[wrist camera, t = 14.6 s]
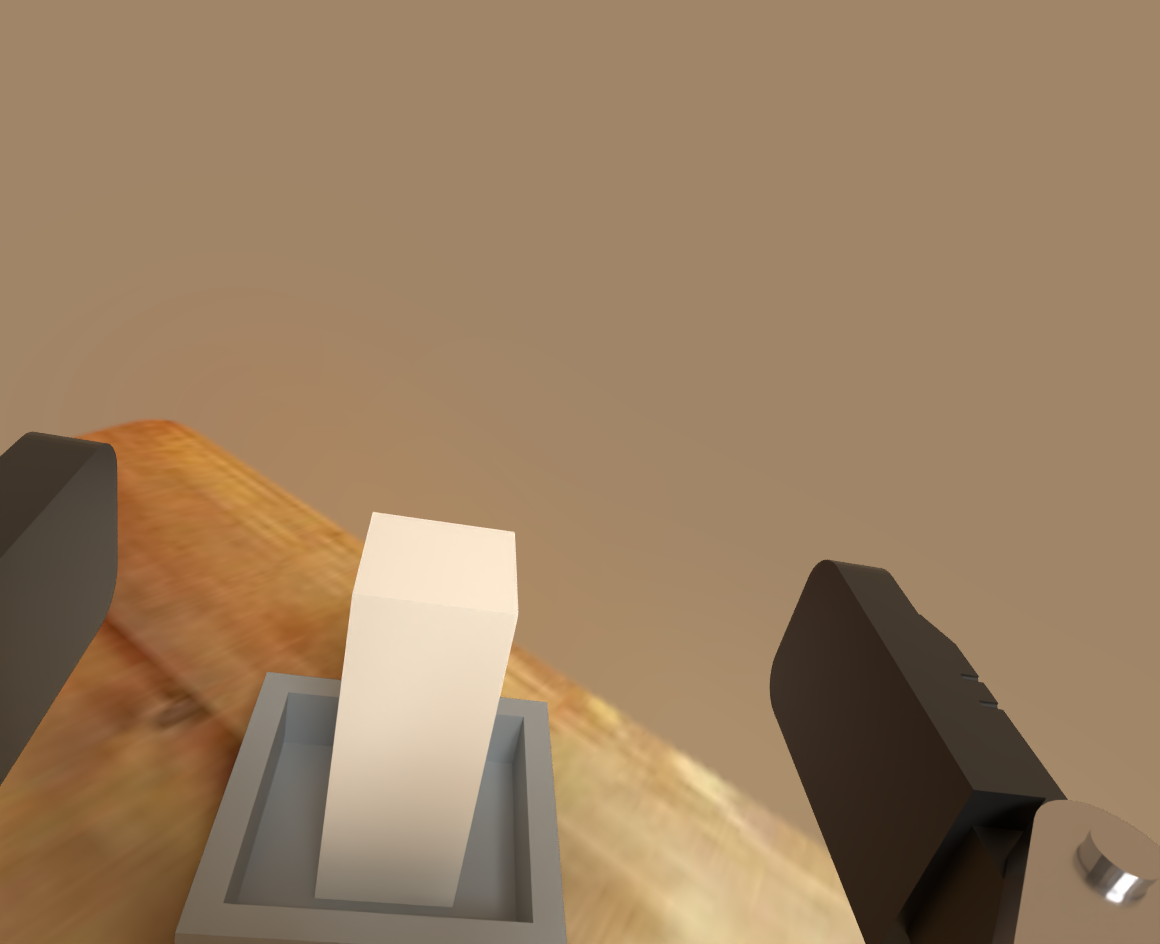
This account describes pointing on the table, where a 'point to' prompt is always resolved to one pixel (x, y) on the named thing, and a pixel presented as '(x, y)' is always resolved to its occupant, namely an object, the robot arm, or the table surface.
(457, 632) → the cream block
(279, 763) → the tray
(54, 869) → the table surface
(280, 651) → the table surface
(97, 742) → the table surface
